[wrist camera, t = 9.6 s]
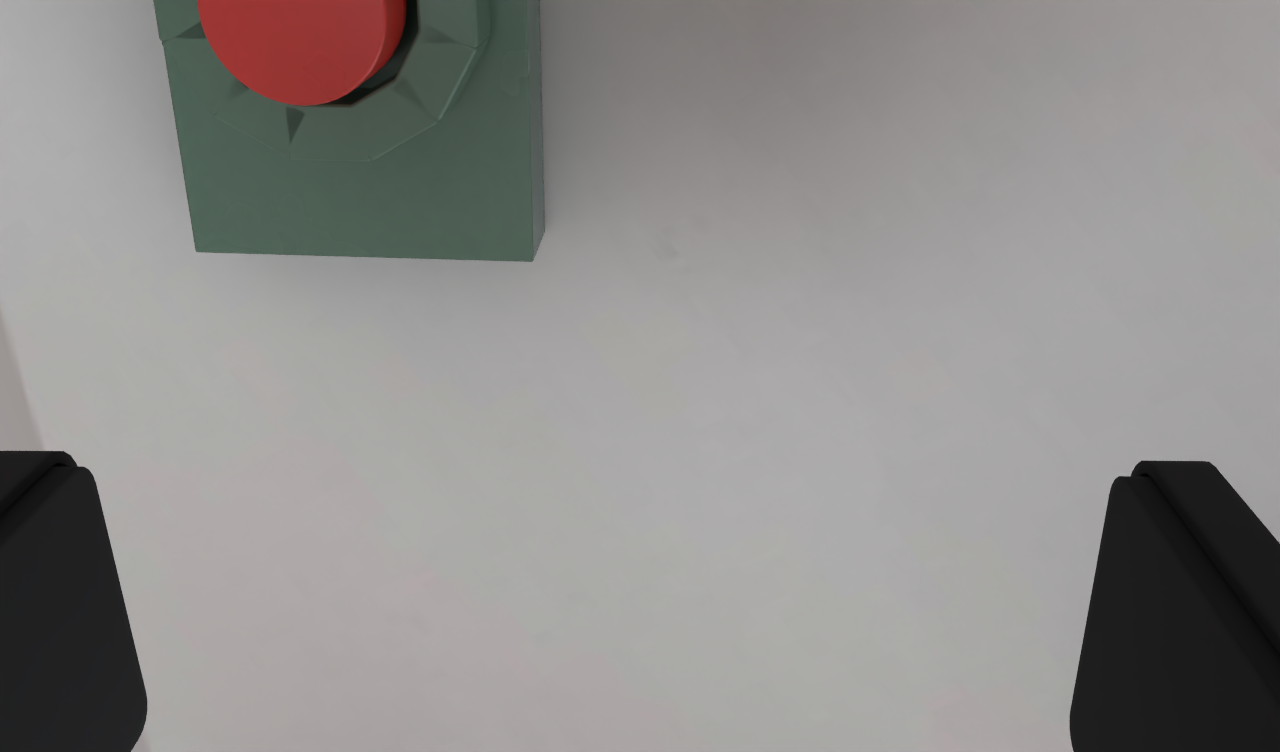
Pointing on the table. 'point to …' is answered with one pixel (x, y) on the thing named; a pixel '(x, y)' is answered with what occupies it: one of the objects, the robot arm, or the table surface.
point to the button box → (372, 144)
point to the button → (303, 44)
